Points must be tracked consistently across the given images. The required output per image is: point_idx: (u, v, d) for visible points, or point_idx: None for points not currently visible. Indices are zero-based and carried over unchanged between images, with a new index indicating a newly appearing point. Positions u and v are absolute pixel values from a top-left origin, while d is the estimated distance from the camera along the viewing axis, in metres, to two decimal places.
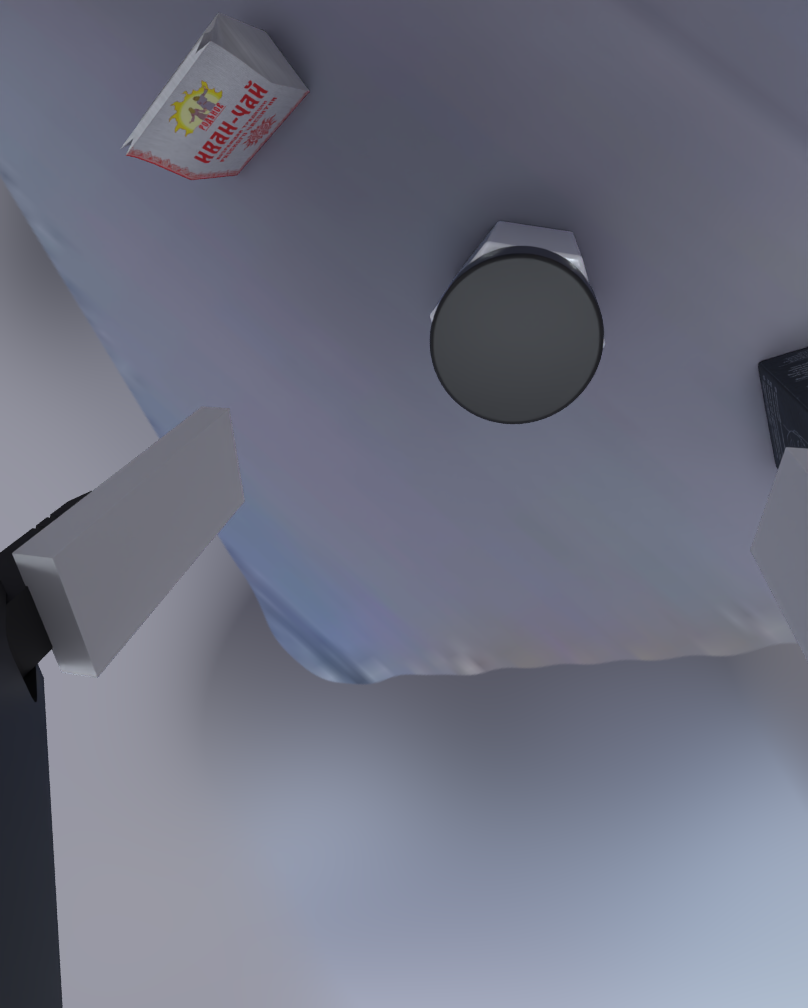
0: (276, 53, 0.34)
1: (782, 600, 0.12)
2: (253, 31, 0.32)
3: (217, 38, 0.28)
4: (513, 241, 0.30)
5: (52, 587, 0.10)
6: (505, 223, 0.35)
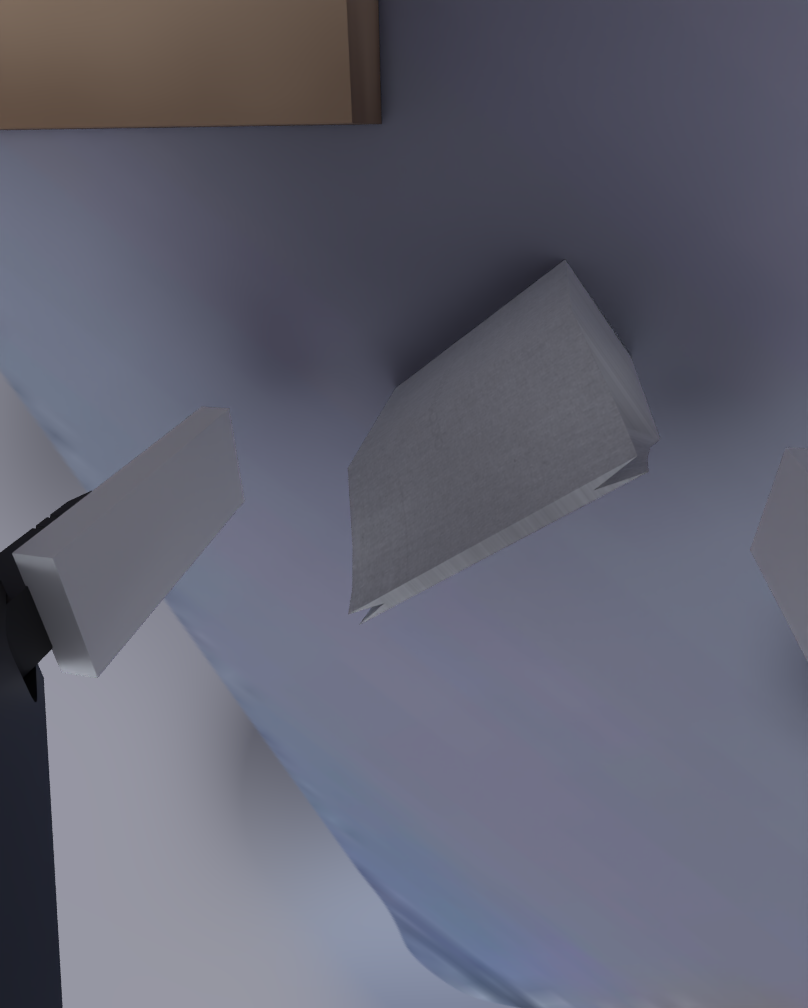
0: (594, 308, 0.17)
1: (783, 600, 0.12)
2: (576, 289, 0.16)
3: None
4: None
5: (52, 587, 0.10)
6: None
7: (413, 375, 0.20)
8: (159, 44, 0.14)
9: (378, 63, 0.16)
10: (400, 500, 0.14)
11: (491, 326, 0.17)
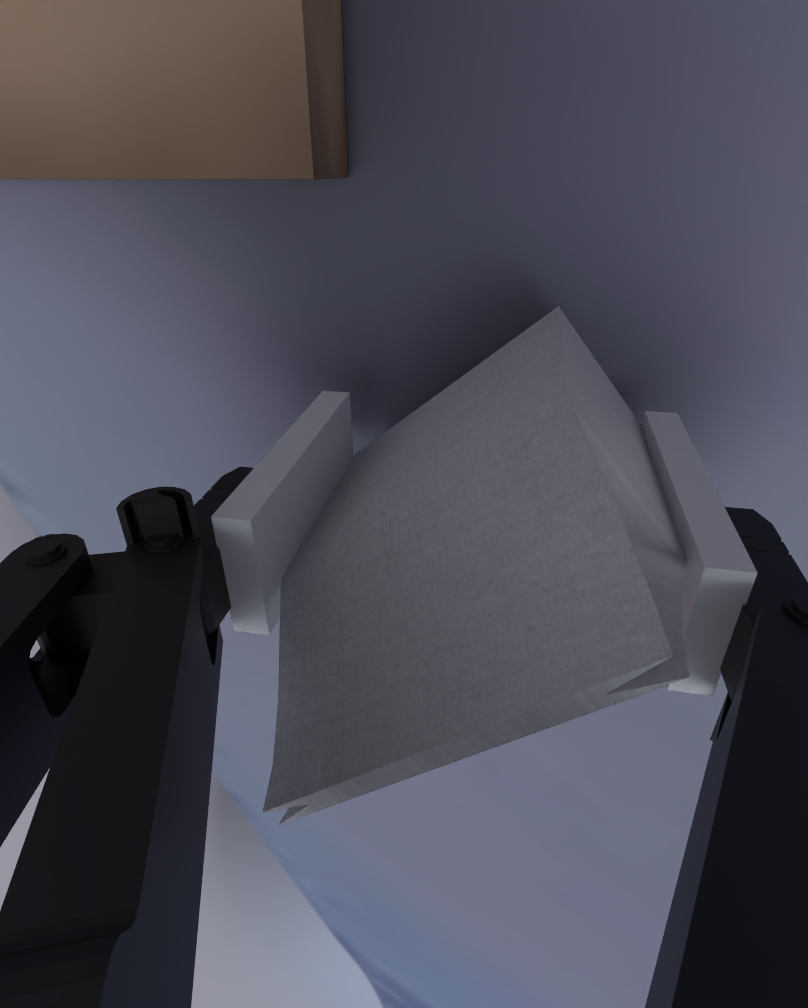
0: (595, 368, 0.14)
1: None
2: (573, 349, 0.12)
3: None
4: None
5: (244, 549, 0.11)
6: None
7: (376, 440, 0.17)
8: (109, 96, 0.14)
9: (344, 116, 0.15)
10: (339, 642, 0.10)
11: (467, 390, 0.14)
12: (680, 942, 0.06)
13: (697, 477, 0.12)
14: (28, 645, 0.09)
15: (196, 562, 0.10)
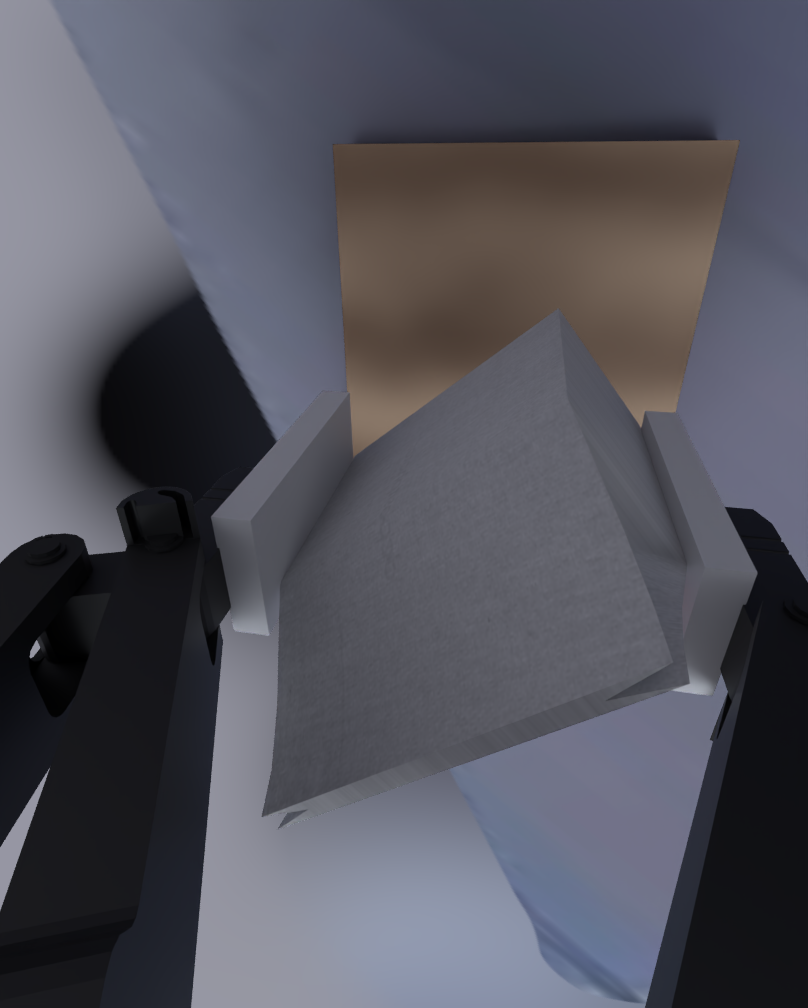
0: (595, 370, 0.14)
1: None
2: (573, 352, 0.12)
3: None
4: None
5: (244, 549, 0.11)
6: None
7: (375, 442, 0.17)
8: None
9: None
10: (338, 646, 0.10)
11: (467, 392, 0.14)
12: (680, 941, 0.06)
13: (698, 477, 0.12)
14: (28, 644, 0.09)
15: (196, 562, 0.10)
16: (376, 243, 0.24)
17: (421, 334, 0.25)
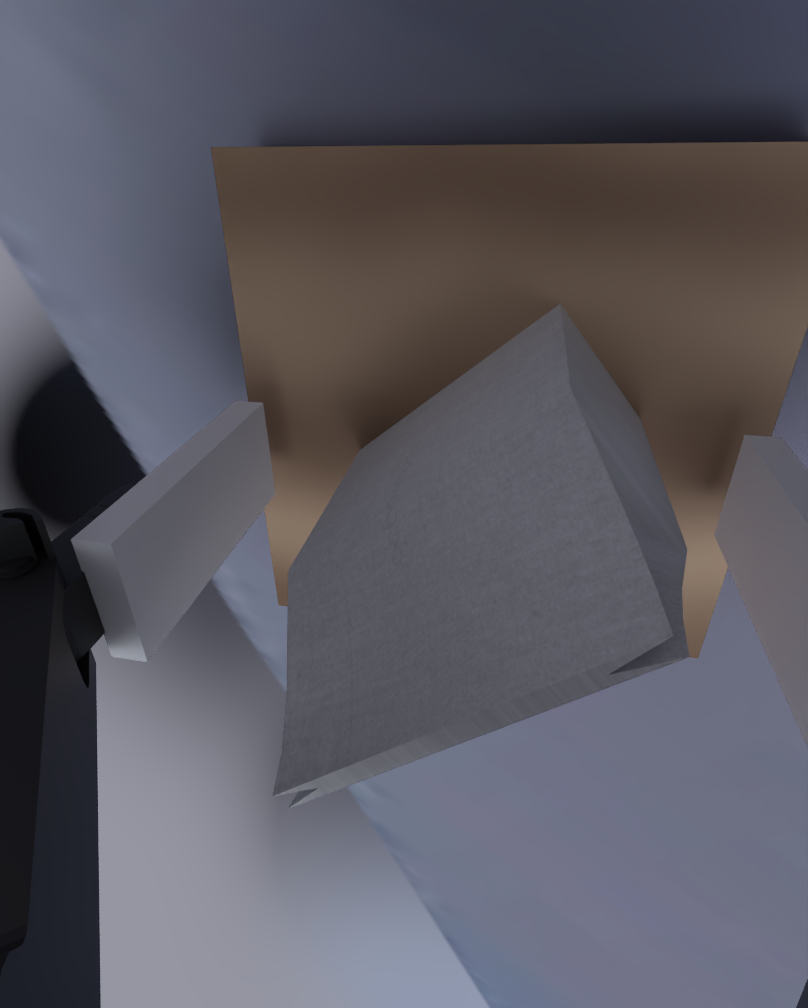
0: (596, 364, 0.14)
1: (740, 580, 0.13)
2: (575, 345, 0.13)
3: None
4: None
5: (108, 573, 0.10)
6: None
7: (380, 436, 0.17)
8: None
9: None
10: (347, 630, 0.11)
11: (470, 386, 0.14)
12: None
13: None
14: None
15: (54, 582, 0.09)
16: (287, 296, 0.16)
17: (362, 425, 0.17)
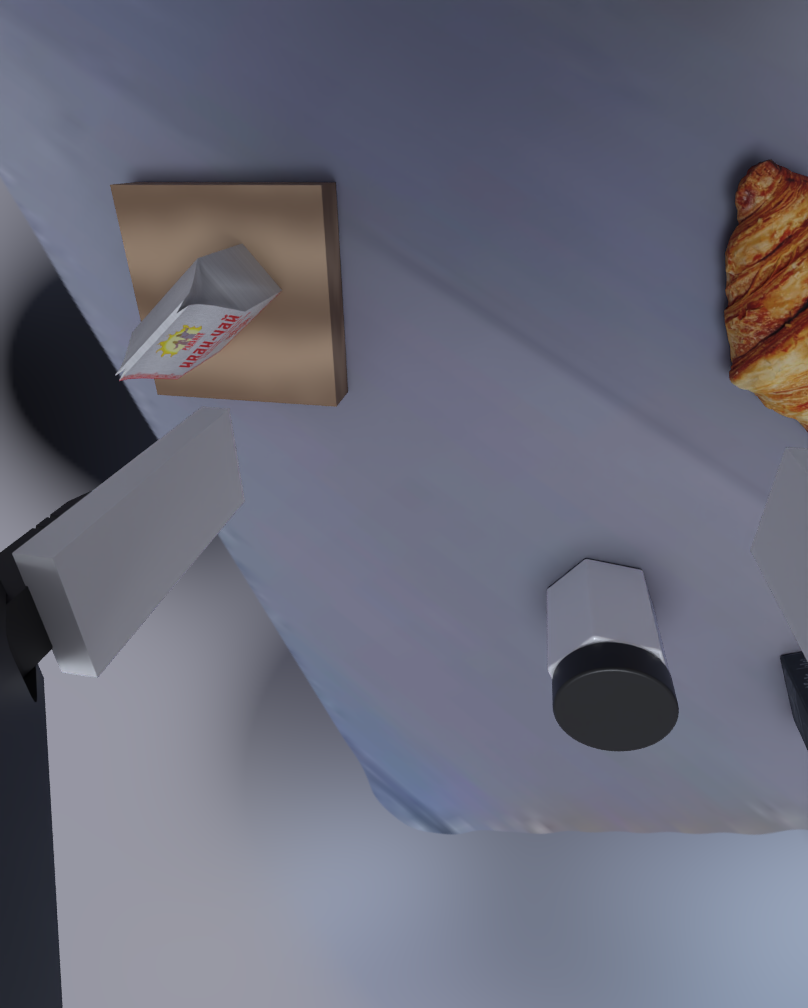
0: (251, 265, 0.38)
1: (782, 599, 0.12)
2: (230, 254, 0.37)
3: (196, 288, 0.33)
4: (610, 627, 0.42)
5: (52, 587, 0.10)
6: (592, 567, 0.48)
7: None
8: (272, 380, 0.43)
9: (346, 375, 0.45)
10: (140, 336, 0.35)
11: None
12: None
13: None
14: None
15: None
16: (144, 242, 0.40)
17: None
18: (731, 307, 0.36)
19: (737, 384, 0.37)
